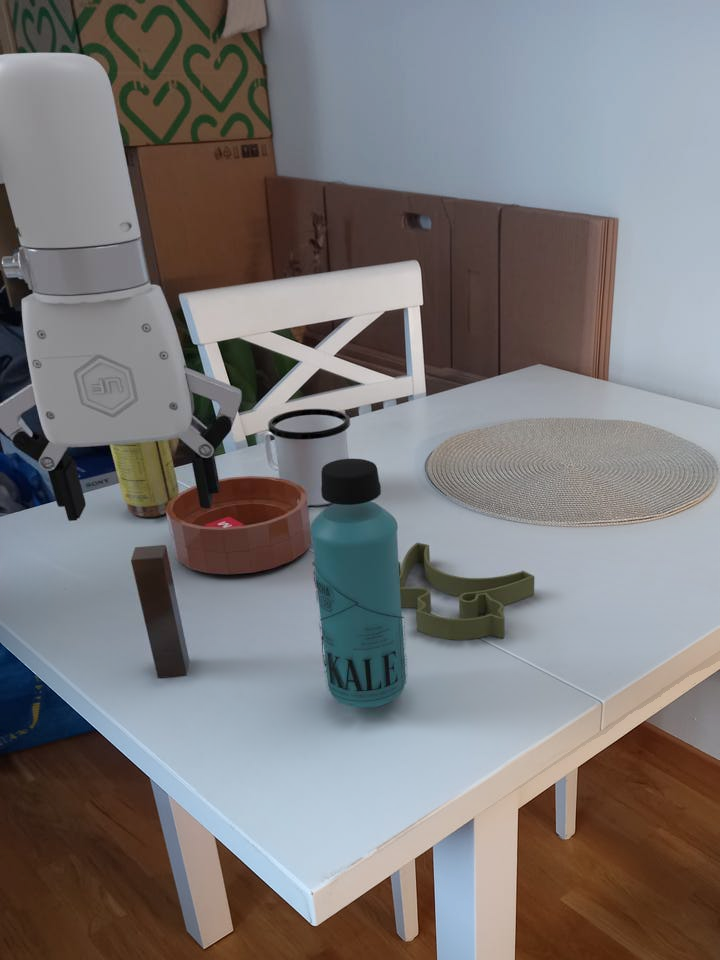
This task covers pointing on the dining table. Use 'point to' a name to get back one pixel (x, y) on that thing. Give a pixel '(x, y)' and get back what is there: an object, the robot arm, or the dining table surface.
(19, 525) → the dining table surface
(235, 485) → the bowl
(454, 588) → the cookie cutter
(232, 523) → the red letter cube
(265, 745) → the dining table surface
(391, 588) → the beverage bottle
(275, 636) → the dining table surface
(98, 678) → the dining table surface
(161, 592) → the stick
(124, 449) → the sauce bottle
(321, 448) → the mug
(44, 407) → the robot arm
